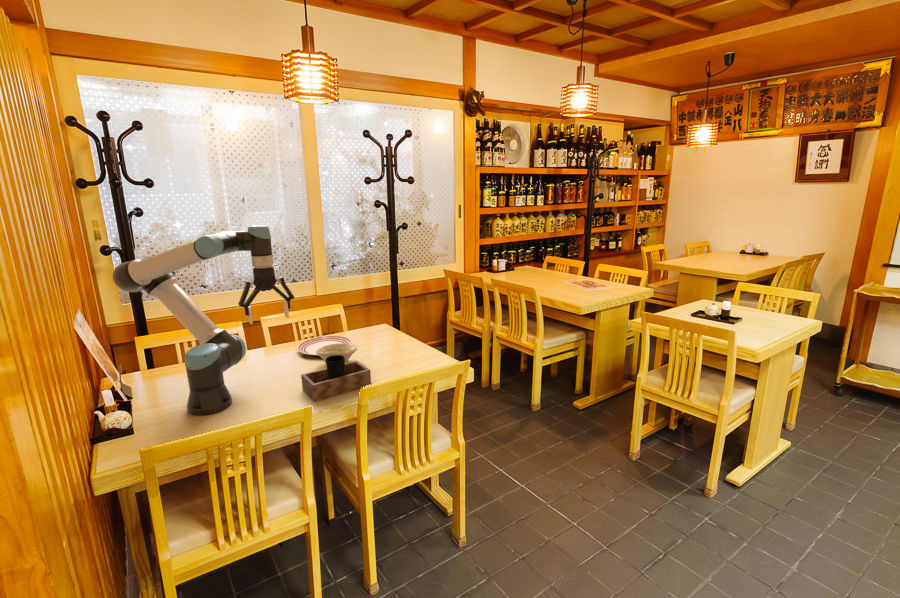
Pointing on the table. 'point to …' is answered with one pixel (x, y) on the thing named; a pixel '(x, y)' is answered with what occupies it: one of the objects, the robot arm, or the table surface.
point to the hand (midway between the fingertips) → (269, 320)
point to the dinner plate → (320, 343)
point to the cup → (335, 366)
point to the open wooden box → (335, 381)
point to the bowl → (336, 350)
